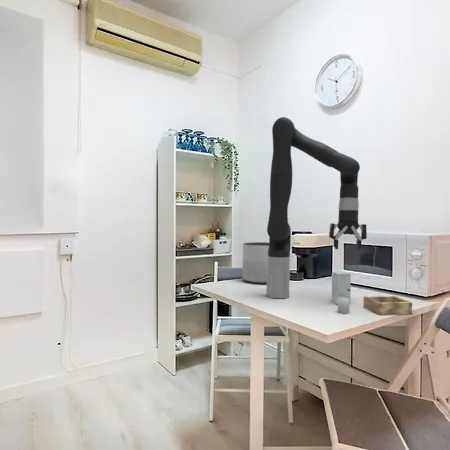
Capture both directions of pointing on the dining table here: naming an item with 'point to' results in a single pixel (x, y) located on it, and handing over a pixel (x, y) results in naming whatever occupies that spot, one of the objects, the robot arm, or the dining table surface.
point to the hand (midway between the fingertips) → (347, 249)
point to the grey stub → (343, 305)
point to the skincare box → (340, 285)
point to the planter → (255, 262)
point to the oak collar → (387, 305)
